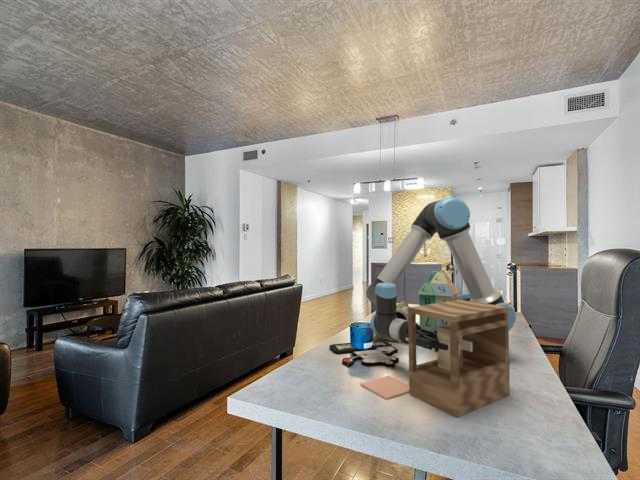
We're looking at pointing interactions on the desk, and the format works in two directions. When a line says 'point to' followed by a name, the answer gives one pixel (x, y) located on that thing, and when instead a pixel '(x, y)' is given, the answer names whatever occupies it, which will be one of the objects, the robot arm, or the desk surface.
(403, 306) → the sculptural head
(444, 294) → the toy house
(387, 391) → the terracotta tile
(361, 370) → the desk surface
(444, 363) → the beech block
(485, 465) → the desk surface
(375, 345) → the sign
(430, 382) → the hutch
